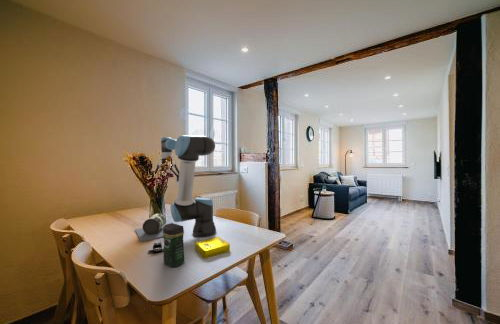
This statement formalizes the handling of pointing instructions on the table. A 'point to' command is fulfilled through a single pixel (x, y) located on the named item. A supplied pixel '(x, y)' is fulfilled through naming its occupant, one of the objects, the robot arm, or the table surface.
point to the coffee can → (153, 224)
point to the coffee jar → (173, 245)
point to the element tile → (212, 247)
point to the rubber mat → (146, 237)
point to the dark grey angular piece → (156, 249)
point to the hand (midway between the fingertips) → (167, 186)
